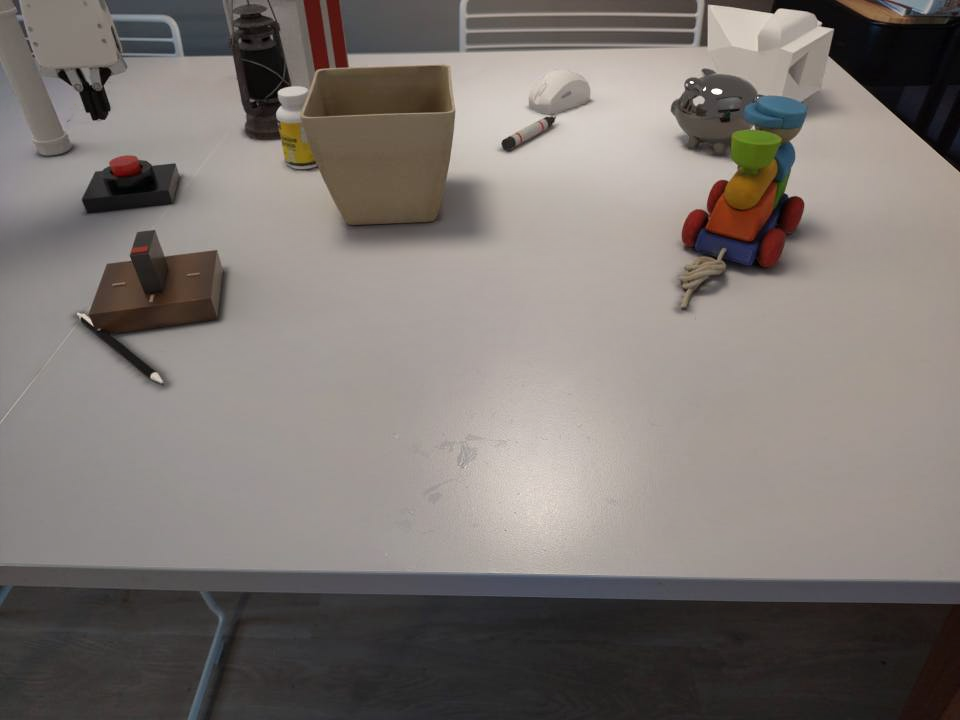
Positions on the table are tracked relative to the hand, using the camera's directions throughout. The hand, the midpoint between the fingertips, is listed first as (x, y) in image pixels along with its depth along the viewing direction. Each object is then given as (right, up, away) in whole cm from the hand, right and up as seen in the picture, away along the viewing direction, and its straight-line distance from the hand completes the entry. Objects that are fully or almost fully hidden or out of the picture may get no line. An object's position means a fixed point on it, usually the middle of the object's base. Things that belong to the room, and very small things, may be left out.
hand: (100, 116), depth 97 cm
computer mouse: (+70, +15, +35) cm, 79 cm away
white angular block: (+107, +17, +37) cm, 114 cm away
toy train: (+87, -20, -8) cm, 89 cm away
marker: (+63, +5, +23) cm, 67 cm away
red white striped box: (+17, +21, +45) cm, 52 cm away
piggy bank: (+93, +2, +19) cm, 95 cm away
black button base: (+1, -9, +8) cm, 12 cm away
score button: (+1, -6, +5) cm, 8 cm away
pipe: (-20, +2, +22) cm, 29 cm away
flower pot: (+41, -12, +4) cm, 43 cm away
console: (+16, -28, -15) cm, 35 cm away
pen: (+14, -34, -22) cm, 43 cm away
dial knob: (+16, -25, -17) cm, 34 cm away
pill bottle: (+25, -2, +16) cm, 30 cm away
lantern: (+16, +8, +28) cm, 33 cm away
